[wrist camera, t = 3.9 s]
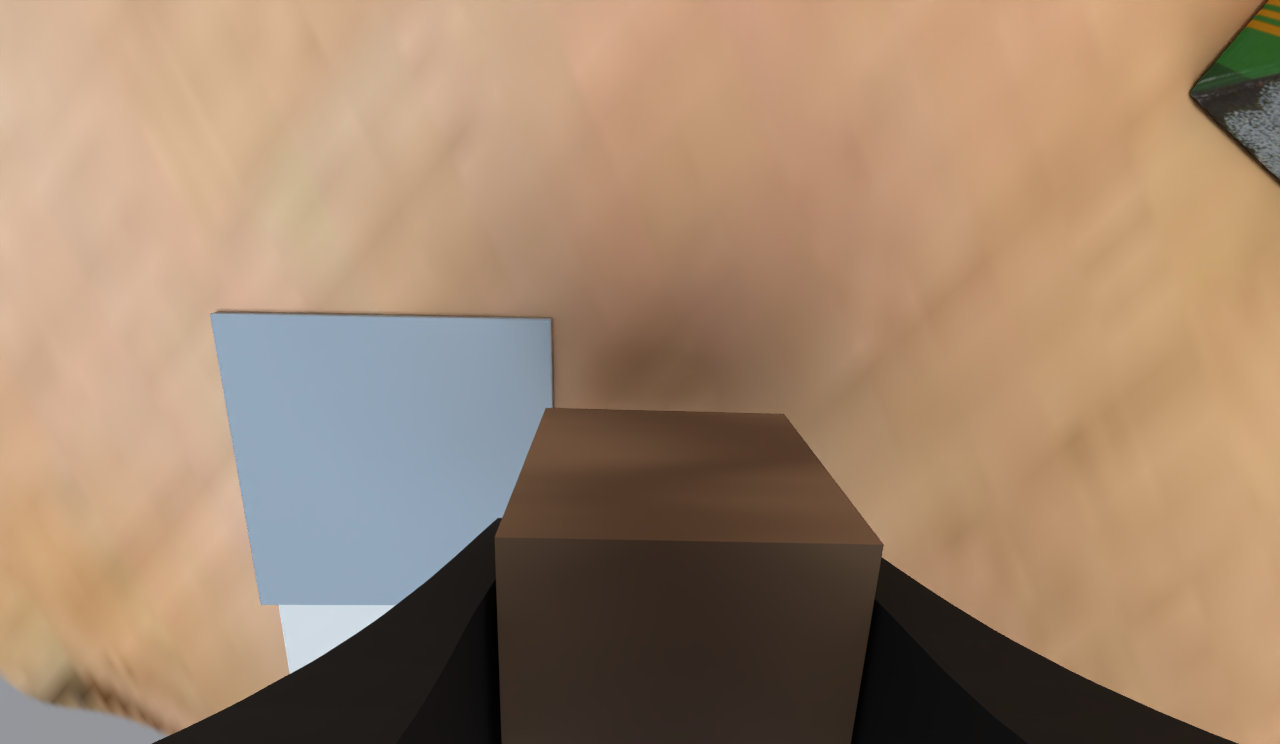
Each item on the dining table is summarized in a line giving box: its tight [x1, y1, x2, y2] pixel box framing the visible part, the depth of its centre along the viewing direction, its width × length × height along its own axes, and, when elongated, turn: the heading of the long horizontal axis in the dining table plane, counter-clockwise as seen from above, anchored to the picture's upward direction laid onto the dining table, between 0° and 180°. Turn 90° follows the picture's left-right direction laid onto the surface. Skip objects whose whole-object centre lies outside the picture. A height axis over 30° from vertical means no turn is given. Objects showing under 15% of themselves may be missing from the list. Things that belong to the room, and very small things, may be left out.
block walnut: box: [495, 408, 883, 744], centre depth 10 cm, size 4×4×4 cm
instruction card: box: [279, 605, 395, 674], centre depth 22 cm, size 7×9×1 cm
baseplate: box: [210, 312, 553, 605], centre depth 19 cm, size 10×10×1 cm
